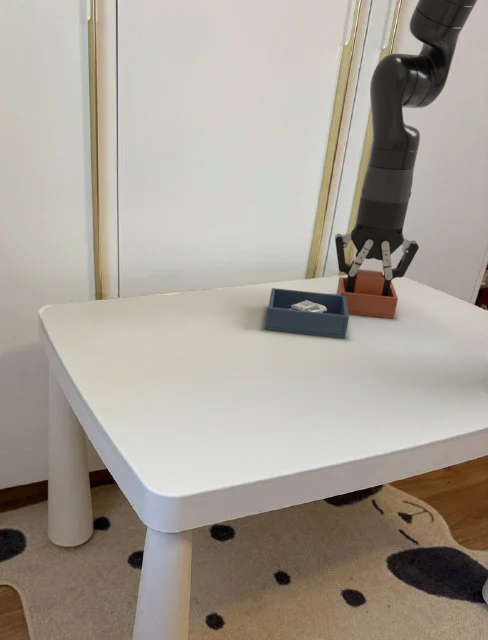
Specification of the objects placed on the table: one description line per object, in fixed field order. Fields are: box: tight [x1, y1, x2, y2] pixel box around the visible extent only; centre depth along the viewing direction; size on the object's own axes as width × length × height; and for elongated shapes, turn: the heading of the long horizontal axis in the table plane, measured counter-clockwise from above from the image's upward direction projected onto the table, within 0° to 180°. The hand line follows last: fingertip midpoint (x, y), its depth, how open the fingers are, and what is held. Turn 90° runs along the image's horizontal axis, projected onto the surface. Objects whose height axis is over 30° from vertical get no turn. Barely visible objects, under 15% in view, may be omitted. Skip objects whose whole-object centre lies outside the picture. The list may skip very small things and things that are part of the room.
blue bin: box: [265, 287, 350, 339], centre depth 101 cm, size 12×10×4 cm
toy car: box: [290, 300, 327, 313], centre depth 101 cm, size 4×8×3 cm, turn 133°
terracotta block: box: [354, 268, 385, 296], centre depth 109 cm, size 4×4×4 cm
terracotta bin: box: [335, 276, 399, 319], centre depth 109 cm, size 9×9×4 cm
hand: (365, 297), depth 110 cm, fingers closed on terracotta block, 4 cm apart
